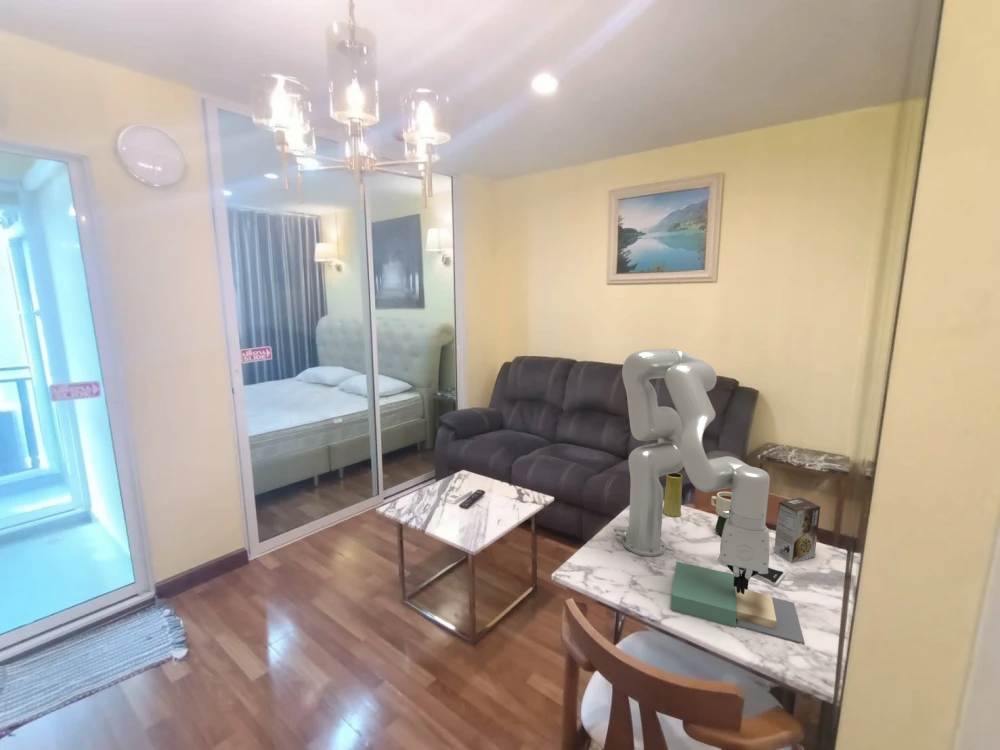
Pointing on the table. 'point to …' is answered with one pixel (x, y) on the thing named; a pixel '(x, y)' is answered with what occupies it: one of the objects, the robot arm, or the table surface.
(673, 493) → the vase
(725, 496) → the character mug
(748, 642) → the table surface
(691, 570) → the green flat block
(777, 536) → the coffee box
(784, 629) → the rubber mat
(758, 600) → the oak tile
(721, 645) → the table surface
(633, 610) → the table surface
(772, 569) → the smartphone
